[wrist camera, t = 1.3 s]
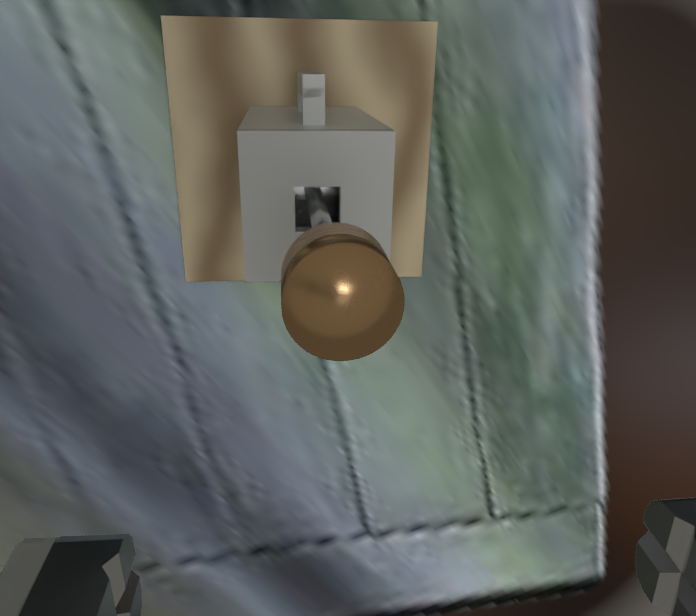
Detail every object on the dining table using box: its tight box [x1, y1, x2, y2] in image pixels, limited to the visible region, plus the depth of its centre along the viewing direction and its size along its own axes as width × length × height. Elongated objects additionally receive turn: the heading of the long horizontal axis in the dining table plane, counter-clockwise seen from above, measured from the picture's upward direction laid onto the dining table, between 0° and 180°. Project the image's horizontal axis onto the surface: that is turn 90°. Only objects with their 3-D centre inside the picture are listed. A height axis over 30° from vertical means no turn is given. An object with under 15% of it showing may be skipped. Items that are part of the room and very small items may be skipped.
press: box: [237, 70, 396, 282], centre depth 39 cm, size 8×11×17 cm
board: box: [161, 16, 438, 282], centre depth 48 cm, size 20×20×2 cm
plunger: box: [281, 187, 404, 361], centre depth 29 cm, size 6×6×20 cm
